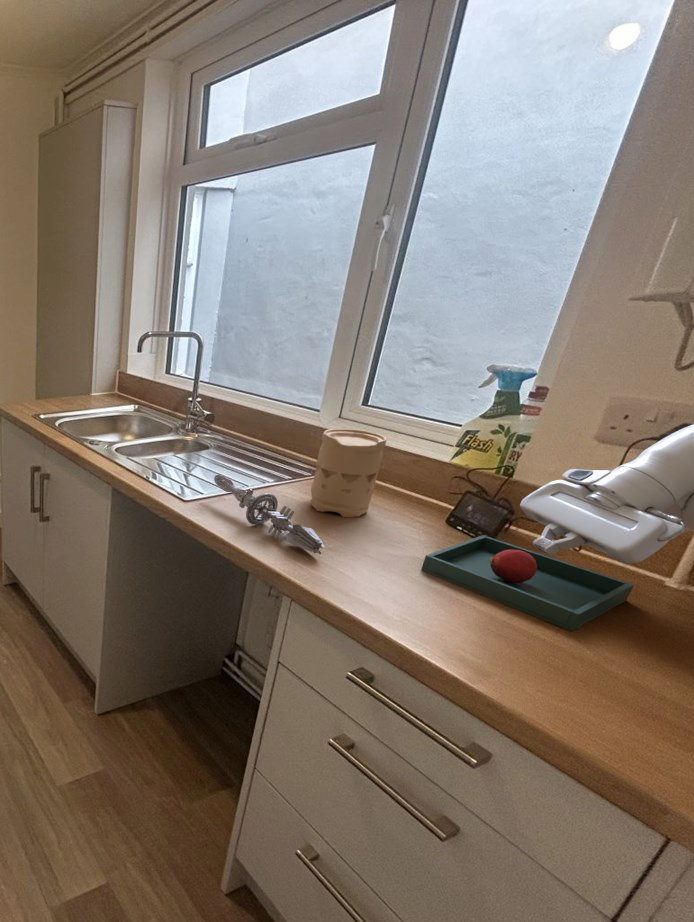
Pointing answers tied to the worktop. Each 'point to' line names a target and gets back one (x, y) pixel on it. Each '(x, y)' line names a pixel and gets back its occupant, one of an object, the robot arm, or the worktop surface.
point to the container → (346, 471)
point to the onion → (513, 566)
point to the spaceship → (272, 516)
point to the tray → (530, 583)
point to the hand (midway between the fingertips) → (540, 549)
